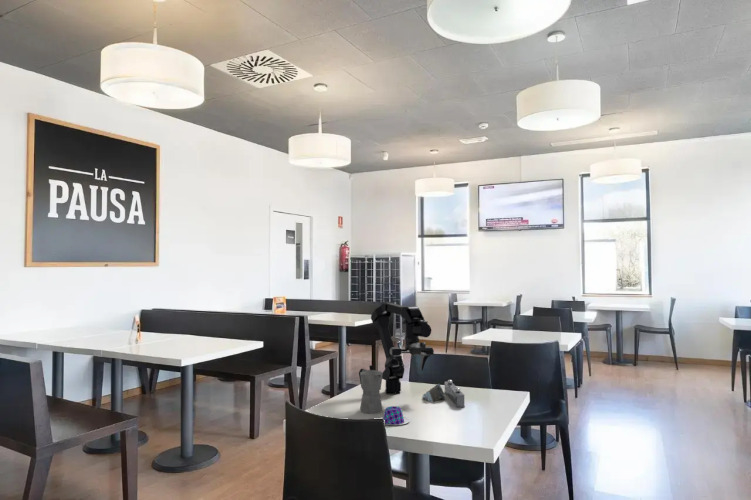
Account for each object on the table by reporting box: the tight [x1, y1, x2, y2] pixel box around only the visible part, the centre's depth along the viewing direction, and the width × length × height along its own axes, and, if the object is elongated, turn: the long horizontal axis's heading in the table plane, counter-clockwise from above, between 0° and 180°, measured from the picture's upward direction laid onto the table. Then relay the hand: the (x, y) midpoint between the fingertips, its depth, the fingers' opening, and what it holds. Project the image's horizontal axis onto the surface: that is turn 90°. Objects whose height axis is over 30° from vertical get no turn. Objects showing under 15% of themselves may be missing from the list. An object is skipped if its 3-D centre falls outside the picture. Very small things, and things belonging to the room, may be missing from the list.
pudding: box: [380, 405, 410, 426], centre depth 186 cm, size 12×12×5 cm
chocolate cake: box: [422, 383, 446, 403], centre depth 219 cm, size 10×7×12 cm
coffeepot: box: [358, 364, 384, 415], centre depth 202 cm, size 15×9×18 cm, turn 33°
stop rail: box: [444, 379, 465, 408], centre depth 219 cm, size 3×26×7 cm, turn 3°
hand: (411, 370), depth 220 cm, fingers open, 9 cm apart
